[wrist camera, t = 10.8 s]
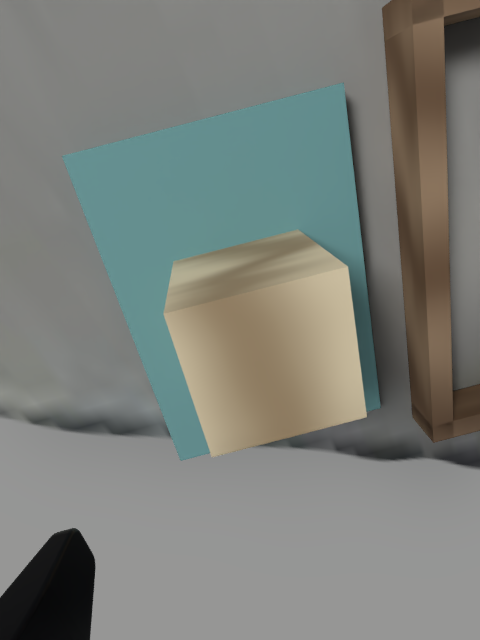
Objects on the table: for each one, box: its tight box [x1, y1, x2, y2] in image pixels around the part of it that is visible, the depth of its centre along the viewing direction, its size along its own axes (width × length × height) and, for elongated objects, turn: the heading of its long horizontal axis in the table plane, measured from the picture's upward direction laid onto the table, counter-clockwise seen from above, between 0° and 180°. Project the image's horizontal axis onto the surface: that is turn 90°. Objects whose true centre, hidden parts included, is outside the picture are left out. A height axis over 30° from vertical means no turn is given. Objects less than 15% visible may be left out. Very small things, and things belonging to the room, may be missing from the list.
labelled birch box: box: [163, 230, 367, 457], centre depth 14 cm, size 5×5×6 cm
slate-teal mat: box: [62, 83, 381, 461], centre depth 17 cm, size 14×10×1 cm
